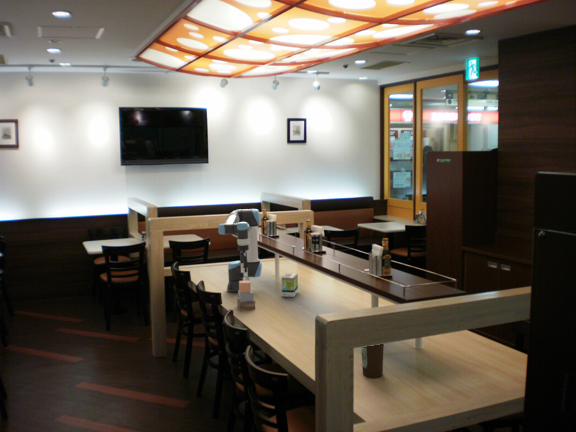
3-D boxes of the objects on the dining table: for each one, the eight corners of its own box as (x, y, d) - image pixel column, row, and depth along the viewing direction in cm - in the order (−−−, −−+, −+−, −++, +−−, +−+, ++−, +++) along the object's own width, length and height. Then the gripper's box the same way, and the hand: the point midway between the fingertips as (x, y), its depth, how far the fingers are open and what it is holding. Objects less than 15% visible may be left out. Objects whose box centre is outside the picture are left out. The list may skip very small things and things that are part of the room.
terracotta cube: (239, 290, 363) (238, 281, 363) (249, 289, 365) (248, 280, 364) (240, 293, 357) (240, 283, 356) (250, 292, 358) (250, 282, 357)
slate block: (238, 298, 365) (238, 290, 364) (250, 297, 367) (250, 289, 366) (240, 302, 356) (240, 293, 355) (253, 300, 358) (253, 292, 358)
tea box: (294, 297, 387) (294, 277, 385) (281, 296, 389) (281, 277, 387) (298, 291, 401) (297, 273, 400) (285, 291, 403) (285, 273, 402)
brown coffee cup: (380, 368, 251) (379, 319, 249) (386, 378, 241) (386, 326, 238) (358, 370, 250) (358, 320, 247) (364, 379, 240) (364, 327, 237)
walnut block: (237, 306, 366) (236, 298, 365) (252, 305, 369) (252, 297, 368) (239, 311, 356) (239, 302, 355) (255, 309, 358) (255, 301, 357)
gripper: (235, 242, 369) (236, 271, 371) (240, 247, 345) (241, 279, 347) (245, 241, 370) (247, 270, 373) (251, 247, 346) (252, 278, 349)
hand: (244, 274), depth 360 cm, fingers open, 13 cm apart
